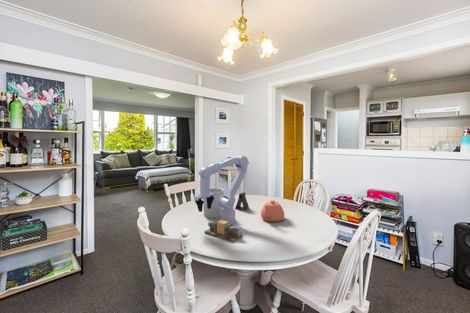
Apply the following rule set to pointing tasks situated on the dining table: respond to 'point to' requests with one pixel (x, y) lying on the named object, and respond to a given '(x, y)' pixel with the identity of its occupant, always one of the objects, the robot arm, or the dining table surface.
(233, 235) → the shaft stand
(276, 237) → the dining table surface
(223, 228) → the coupler block
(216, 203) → the utensil holder
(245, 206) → the black a-shaped stand
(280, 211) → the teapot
